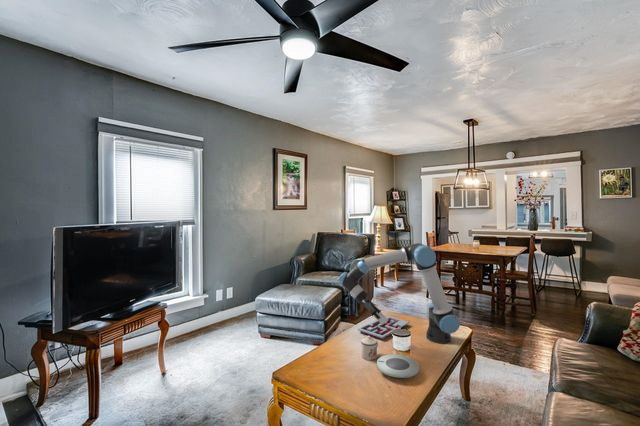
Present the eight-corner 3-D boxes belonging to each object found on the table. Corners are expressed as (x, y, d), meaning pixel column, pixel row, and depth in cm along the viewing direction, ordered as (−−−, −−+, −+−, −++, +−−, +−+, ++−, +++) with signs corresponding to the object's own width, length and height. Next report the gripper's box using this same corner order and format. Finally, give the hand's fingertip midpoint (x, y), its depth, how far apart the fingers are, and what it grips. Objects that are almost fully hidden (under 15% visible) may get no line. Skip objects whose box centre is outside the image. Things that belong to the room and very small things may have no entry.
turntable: (419, 360, 166) (419, 357, 166) (418, 381, 146) (418, 377, 146) (379, 354, 173) (379, 351, 173) (374, 373, 153) (374, 370, 153)
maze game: (382, 341, 196) (382, 336, 196) (357, 333, 210) (357, 328, 209) (409, 326, 221) (409, 321, 221) (385, 319, 235) (385, 315, 234)
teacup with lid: (370, 362, 170) (370, 341, 169) (357, 356, 176) (357, 336, 176) (383, 355, 177) (383, 335, 177) (371, 349, 184) (371, 330, 184)
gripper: (359, 299, 194) (383, 325, 185) (349, 298, 171) (377, 328, 162) (367, 290, 194) (392, 316, 185) (359, 288, 171) (387, 318, 162)
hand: (385, 322), depth 174 cm, fingers open, 13 cm apart
